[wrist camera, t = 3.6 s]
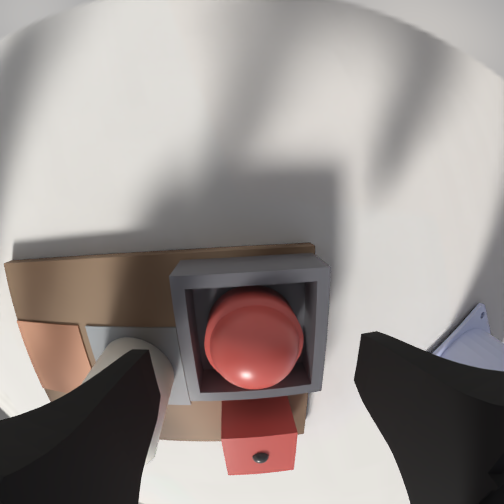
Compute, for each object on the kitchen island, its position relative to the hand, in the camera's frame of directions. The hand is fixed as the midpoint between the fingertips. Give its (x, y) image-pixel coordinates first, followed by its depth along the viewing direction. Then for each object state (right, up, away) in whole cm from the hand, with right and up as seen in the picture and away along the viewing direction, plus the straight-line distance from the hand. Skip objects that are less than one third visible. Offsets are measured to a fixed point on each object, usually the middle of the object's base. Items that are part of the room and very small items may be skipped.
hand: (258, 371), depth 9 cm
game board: (-6, -2, +5) cm, 8 cm away
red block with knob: (0, -5, +5) cm, 7 cm away
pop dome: (0, +1, +3) cm, 3 cm away
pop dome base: (0, +1, +4) cm, 4 cm away
